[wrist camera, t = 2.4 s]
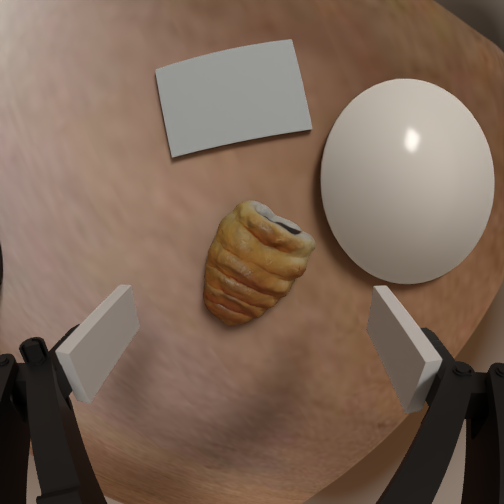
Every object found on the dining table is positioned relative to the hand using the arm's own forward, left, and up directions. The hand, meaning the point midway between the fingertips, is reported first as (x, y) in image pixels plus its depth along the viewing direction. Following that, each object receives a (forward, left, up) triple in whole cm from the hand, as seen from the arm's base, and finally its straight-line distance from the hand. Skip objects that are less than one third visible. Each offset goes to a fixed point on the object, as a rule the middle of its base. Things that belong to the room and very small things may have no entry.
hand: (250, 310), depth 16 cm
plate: (+13, +6, -8) cm, 16 cm away
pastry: (0, 0, -8) cm, 8 cm away
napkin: (-1, +12, -8) cm, 14 cm away
